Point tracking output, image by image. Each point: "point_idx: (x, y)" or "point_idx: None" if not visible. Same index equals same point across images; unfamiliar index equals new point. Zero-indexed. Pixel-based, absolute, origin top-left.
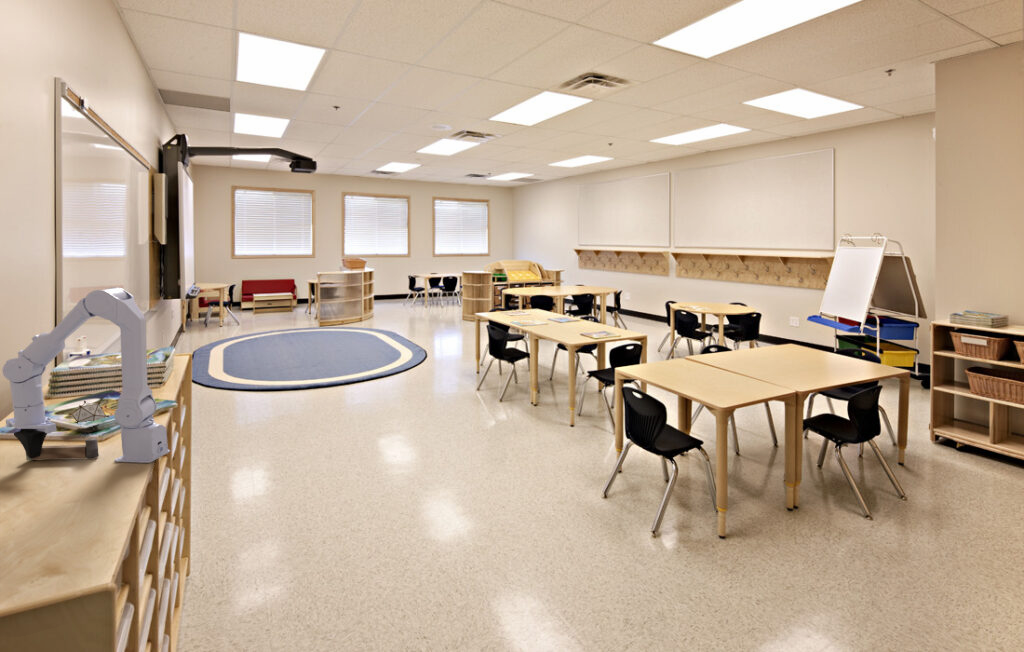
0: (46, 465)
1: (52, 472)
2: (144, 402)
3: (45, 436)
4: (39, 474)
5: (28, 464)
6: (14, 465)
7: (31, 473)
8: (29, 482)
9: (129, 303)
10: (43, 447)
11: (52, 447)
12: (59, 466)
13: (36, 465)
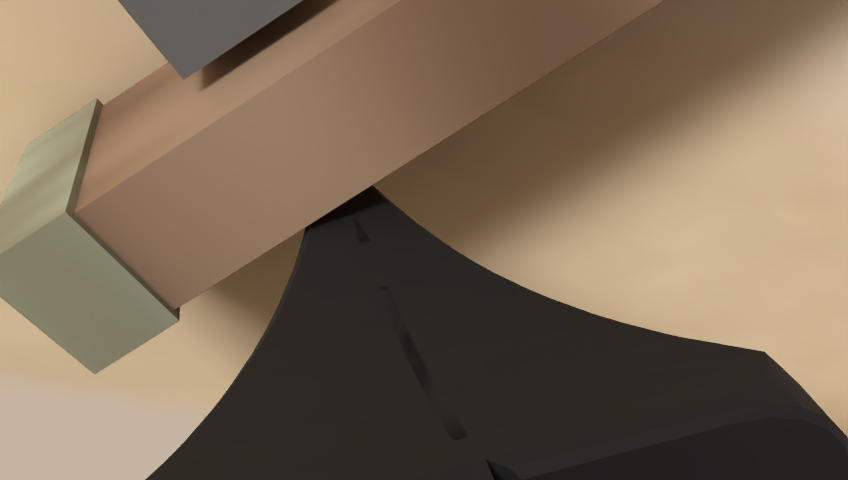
0: (548, 140)
1: (825, 198)
2: None
3: (609, 326)
4: (740, 289)
5: (279, 248)
6: (153, 351)
7: (633, 322)
8: (820, 392)
9: None
10: (345, 162)
11: (523, 68)
12: (744, 70)
13: (422, 207)
